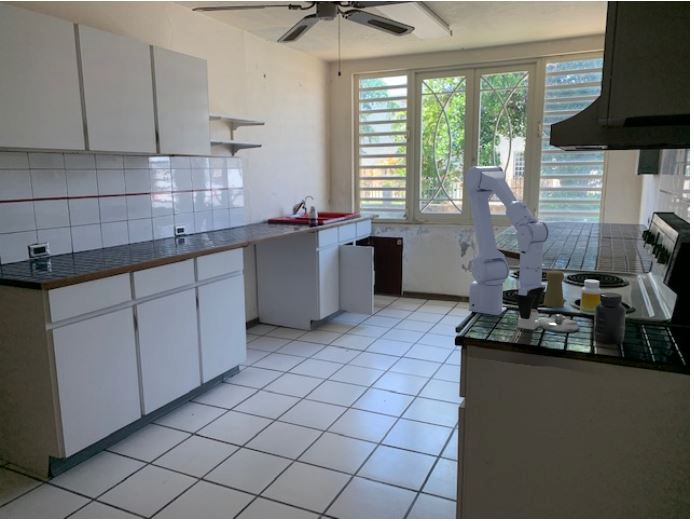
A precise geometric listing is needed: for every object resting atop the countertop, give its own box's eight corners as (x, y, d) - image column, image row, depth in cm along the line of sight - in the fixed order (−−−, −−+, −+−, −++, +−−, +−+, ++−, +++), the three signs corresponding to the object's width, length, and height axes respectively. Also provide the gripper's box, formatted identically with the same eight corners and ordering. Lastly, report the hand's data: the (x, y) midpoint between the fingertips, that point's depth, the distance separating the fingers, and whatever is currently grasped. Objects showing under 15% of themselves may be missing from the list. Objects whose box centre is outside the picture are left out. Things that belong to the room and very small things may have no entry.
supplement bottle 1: (602, 315, 146) (604, 283, 144) (582, 314, 147) (584, 282, 145) (597, 310, 151) (599, 279, 149) (578, 309, 152) (580, 278, 151)
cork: (567, 307, 155) (569, 272, 153) (547, 307, 155) (549, 273, 153) (559, 302, 161) (561, 268, 159) (540, 302, 161) (542, 269, 159)
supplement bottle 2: (610, 334, 130) (614, 290, 128) (629, 343, 124) (633, 297, 121) (587, 337, 129) (590, 292, 127) (604, 346, 122) (608, 299, 120)
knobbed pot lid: (534, 328, 136) (535, 317, 136) (543, 318, 144) (544, 308, 144) (574, 334, 131) (574, 323, 130) (581, 324, 139) (582, 313, 138)
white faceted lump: (516, 327, 138) (517, 310, 137) (521, 322, 142) (521, 306, 141) (535, 330, 135) (536, 313, 134) (539, 325, 139) (540, 309, 138)
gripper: (539, 273, 127) (536, 324, 130) (552, 263, 139) (550, 310, 141) (511, 270, 131) (509, 320, 134) (526, 261, 143) (525, 306, 145)
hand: (528, 314), depth 138 cm, fingers open, 7 cm apart
